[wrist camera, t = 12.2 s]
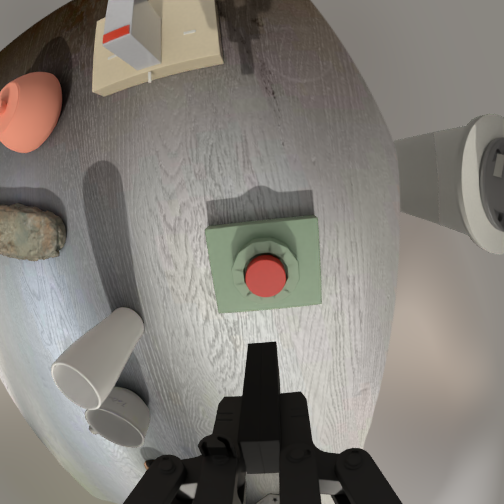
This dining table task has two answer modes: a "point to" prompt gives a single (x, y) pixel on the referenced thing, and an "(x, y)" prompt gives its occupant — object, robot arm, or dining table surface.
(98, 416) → the teacup
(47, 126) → the sugar bowl
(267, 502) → the cereal box
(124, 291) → the dining table surface
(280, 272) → the button
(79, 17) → the dining table surface
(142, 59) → the tap handle
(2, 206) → the long grey stone
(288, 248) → the button box
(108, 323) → the drinking glass
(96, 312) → the dining table surface
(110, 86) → the base
